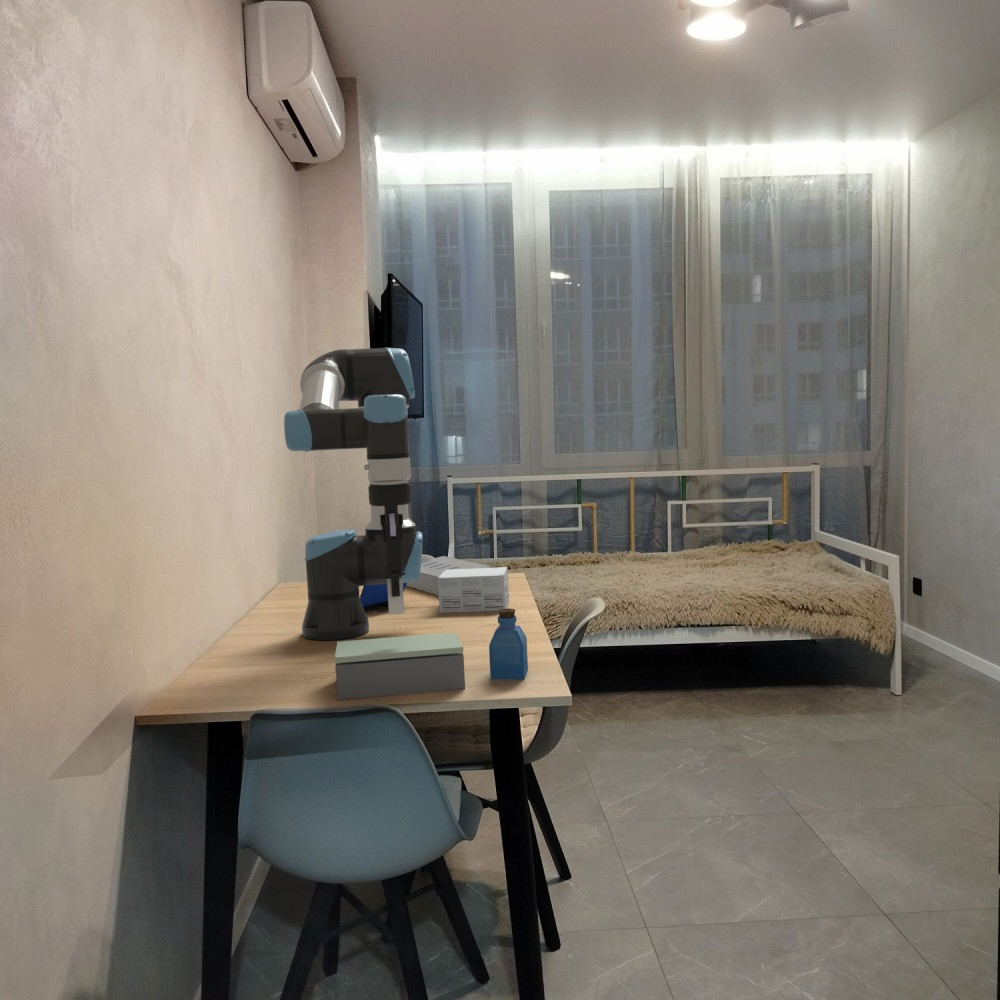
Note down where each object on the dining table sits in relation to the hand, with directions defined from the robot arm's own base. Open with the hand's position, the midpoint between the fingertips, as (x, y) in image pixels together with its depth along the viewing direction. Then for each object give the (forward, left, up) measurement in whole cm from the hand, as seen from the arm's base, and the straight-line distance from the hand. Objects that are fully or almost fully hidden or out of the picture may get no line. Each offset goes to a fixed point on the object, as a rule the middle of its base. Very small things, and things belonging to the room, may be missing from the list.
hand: (396, 613), depth 155 cm
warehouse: (-94, +17, -14) cm, 97 cm away
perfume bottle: (0, +20, -13) cm, 24 cm away
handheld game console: (-72, -4, -13) cm, 73 cm away
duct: (0, 0, -13) cm, 13 cm away
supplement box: (-64, +22, -13) cm, 69 cm away
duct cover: (0, 0, -7) cm, 7 cm away
